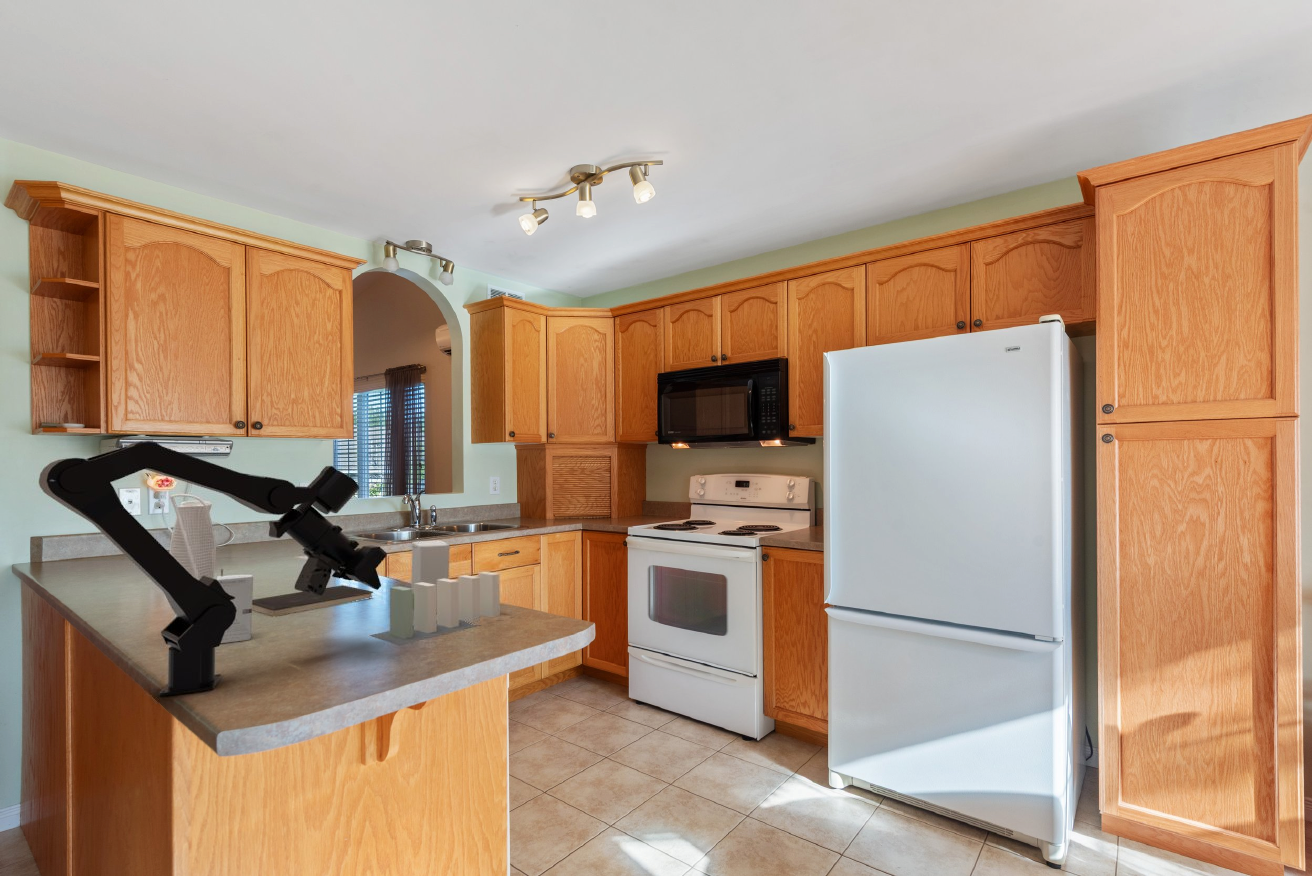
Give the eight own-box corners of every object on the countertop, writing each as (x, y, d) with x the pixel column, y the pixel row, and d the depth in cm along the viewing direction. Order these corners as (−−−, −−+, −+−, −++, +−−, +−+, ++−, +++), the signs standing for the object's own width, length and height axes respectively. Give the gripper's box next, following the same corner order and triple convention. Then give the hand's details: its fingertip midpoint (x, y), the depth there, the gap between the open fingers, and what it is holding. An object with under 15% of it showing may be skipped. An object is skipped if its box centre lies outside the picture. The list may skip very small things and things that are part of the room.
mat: (399, 647, 117) (399, 644, 117) (369, 637, 124) (369, 635, 124) (514, 618, 137) (514, 616, 137) (483, 611, 144) (483, 610, 144)
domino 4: (472, 622, 132) (472, 578, 132) (458, 619, 135) (458, 576, 136) (479, 621, 133) (479, 577, 134) (465, 617, 137) (465, 574, 137)
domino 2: (428, 633, 124) (427, 586, 125) (414, 629, 128) (414, 583, 128) (436, 631, 126) (436, 584, 126) (422, 627, 129) (422, 582, 129)
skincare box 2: (410, 611, 146) (410, 541, 146) (440, 607, 149) (440, 539, 150) (419, 618, 139) (419, 545, 139) (450, 614, 142) (450, 542, 143)
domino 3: (450, 627, 128) (450, 582, 129) (436, 624, 131) (436, 579, 132) (458, 626, 130) (458, 580, 130) (444, 622, 133) (444, 578, 133)
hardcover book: (373, 600, 160) (373, 591, 160) (272, 619, 142) (273, 609, 142) (341, 593, 170) (341, 584, 170) (244, 610, 152) (244, 600, 152)
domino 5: (492, 618, 136) (492, 575, 136) (478, 614, 139) (478, 572, 139) (499, 616, 137) (499, 573, 138) (485, 613, 141) (485, 571, 141)
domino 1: (403, 639, 120) (403, 590, 121) (390, 634, 124) (390, 587, 124) (412, 637, 122) (412, 588, 122) (398, 632, 125) (398, 586, 125)
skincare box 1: (213, 645, 120) (214, 579, 120) (214, 639, 124) (215, 576, 124) (252, 639, 123) (253, 575, 124) (252, 634, 127) (252, 572, 128)
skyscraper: (186, 643, 122) (188, 494, 123) (156, 640, 124) (158, 494, 125) (229, 631, 130) (230, 492, 131) (200, 629, 132) (201, 492, 133)
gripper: (259, 567, 113) (324, 617, 121) (305, 577, 101) (374, 633, 109) (306, 518, 119) (365, 569, 127) (354, 522, 107) (416, 578, 116)
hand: (378, 587), depth 120 cm, fingers closed
